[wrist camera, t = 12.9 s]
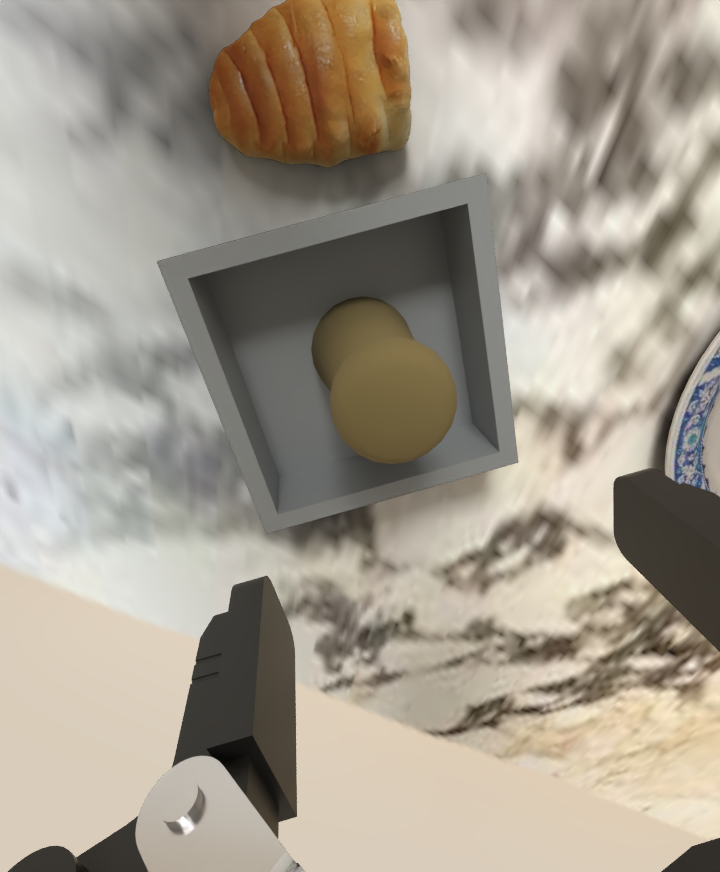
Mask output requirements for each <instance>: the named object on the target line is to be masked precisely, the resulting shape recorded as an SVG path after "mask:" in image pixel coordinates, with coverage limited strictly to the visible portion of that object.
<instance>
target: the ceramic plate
mask: <svg viewBox="0 0 720 872" xmlns="http://www.w3.org/2000/svg"><path fill="white" fill-rule="evenodd" d="M665 475H666V476H668V477H669V478H671V479H672V480H674V481H675V482H677V483H678V484H682V483H687V484H690V485H692V486H695V487H698V488H701V489H704V490H707V491H710V492H713V493H715V494H716V495H718V496H719V497H720V332H719V333H718V334H717V335H716V337H715V338H714V339H713V341H712V342H711V344H710V345H709V347H708V348H707V350H706V351H705V353H704V354H703V356H702V357H701V359H700V360H699V362H698V364H697V366H696V367H695V369H694V371H693V373H692V375H691V376H690V378H689V380H688V382H687V385H686V387H685V389H684V391H683V393H682V395H681V398H680V400H679V403H678V405H677V408H676V411H675V413H674V417H673V420H672V424H671V427H670V431H669V436H668V441H667V446H666V455H665Z"/></svg>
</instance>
